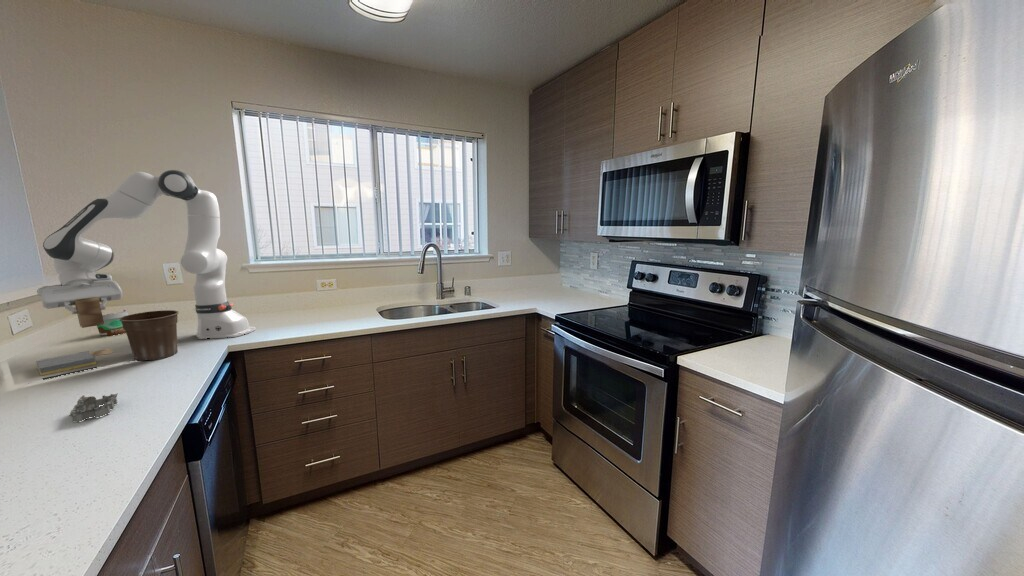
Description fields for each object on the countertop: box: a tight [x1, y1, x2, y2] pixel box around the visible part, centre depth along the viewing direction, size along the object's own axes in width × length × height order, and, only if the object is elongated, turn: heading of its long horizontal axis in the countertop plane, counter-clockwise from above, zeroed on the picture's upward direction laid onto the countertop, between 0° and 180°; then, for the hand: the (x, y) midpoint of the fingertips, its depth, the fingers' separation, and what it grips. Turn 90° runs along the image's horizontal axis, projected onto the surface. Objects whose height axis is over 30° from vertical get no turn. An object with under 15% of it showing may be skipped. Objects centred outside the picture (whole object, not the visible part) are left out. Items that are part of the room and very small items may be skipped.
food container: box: [96, 309, 130, 337], centre depth 174 cm, size 12×6×10 cm, turn 168°
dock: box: [35, 350, 97, 381], centre depth 130 cm, size 12×12×4 cm
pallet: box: [89, 348, 115, 357], centre depth 144 cm, size 8×8×2 cm
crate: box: [74, 297, 104, 329], centre depth 141 cm, size 6×6×10 cm
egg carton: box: [68, 392, 119, 423], centre depth 100 cm, size 11×8×4 cm
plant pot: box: [119, 309, 180, 362], centre depth 143 cm, size 16×16×16 cm
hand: (89, 310), depth 140 cm, fingers closed on crate, 5 cm apart
